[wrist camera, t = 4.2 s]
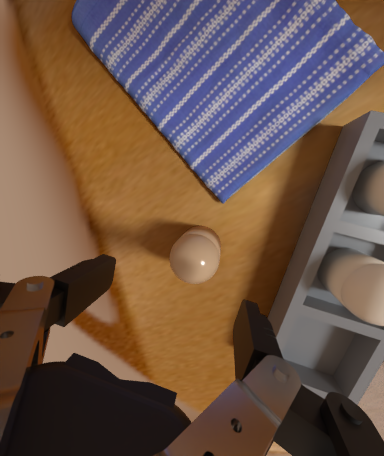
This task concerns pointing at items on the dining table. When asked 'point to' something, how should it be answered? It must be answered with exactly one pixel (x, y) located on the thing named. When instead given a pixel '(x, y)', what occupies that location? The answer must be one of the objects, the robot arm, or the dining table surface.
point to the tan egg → (196, 255)
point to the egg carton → (312, 287)
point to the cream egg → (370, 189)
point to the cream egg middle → (355, 282)
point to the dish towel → (230, 73)
